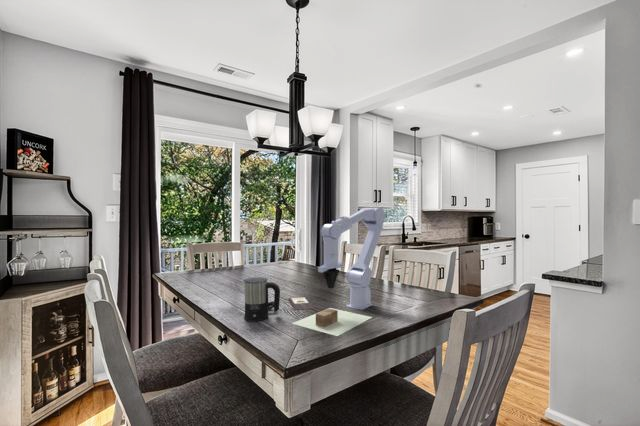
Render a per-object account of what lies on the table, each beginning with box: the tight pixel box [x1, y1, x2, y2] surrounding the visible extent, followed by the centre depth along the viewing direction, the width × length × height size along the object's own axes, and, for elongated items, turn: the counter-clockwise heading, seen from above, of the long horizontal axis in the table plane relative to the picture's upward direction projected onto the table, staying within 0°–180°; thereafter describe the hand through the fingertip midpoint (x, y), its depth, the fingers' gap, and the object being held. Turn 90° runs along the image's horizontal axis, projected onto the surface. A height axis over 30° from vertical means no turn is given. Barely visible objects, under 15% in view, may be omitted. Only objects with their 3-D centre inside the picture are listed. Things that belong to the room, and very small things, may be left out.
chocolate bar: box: [288, 296, 317, 311], centre depth 144 cm, size 9×1×18 cm
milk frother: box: [243, 276, 281, 322], centre depth 130 cm, size 14×16×15 cm
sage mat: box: [291, 307, 373, 337], centre depth 122 cm, size 24×20×1 cm
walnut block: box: [315, 308, 339, 327], centre depth 119 cm, size 4×4×8 cm
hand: (330, 287), depth 131 cm, fingers closed
